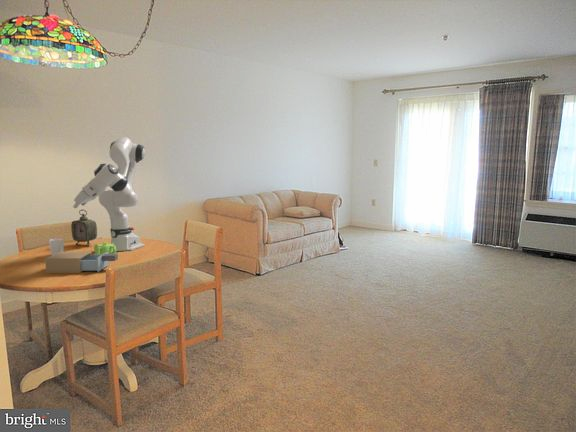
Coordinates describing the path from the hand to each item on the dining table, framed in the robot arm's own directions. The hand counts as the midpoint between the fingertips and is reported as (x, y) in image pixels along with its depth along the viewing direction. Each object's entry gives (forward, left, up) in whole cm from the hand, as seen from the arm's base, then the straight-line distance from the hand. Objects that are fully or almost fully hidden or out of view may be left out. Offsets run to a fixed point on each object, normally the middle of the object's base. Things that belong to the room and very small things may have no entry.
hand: (78, 206), depth 229 cm
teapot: (-15, +1, -34) cm, 37 cm away
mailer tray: (+4, +15, -33) cm, 36 cm away
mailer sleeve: (+10, +3, -34) cm, 35 cm away
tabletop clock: (-32, -40, -34) cm, 61 cm away
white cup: (-6, -32, -34) cm, 47 cm away
